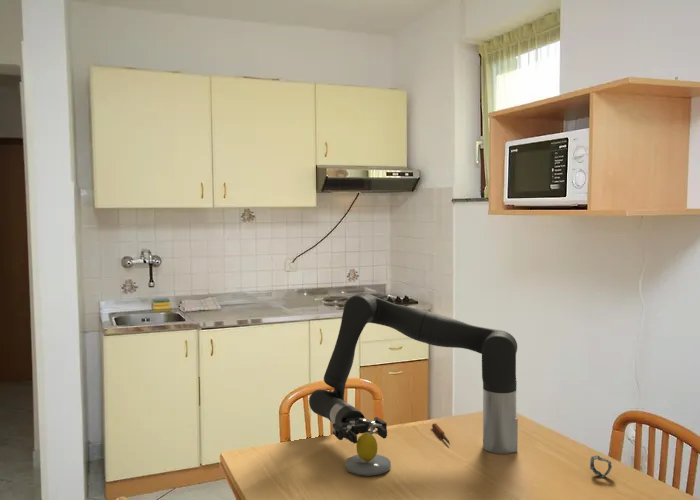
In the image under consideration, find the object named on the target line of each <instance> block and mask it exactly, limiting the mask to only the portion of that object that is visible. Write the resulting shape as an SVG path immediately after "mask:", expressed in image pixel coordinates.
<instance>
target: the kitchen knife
mask: <svg viewBox="0 0 700 500" xmlns="http://www.w3.org/2000/svg"><path fill="white" fill-rule="evenodd" d="M431 428H432V430H433V431H434V432H435V433H436V434H437V435H438V437H439V438H440V439H444V441H445V442H446V443H447V444H448V445H449V446H450V445H451V443H450V440H449V439H448V438H447V436H446V435H445V432H444V431H443V429H442V428H441V427H440V426H439V425H438V424H437V423H432V424H431Z"/></svg>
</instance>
